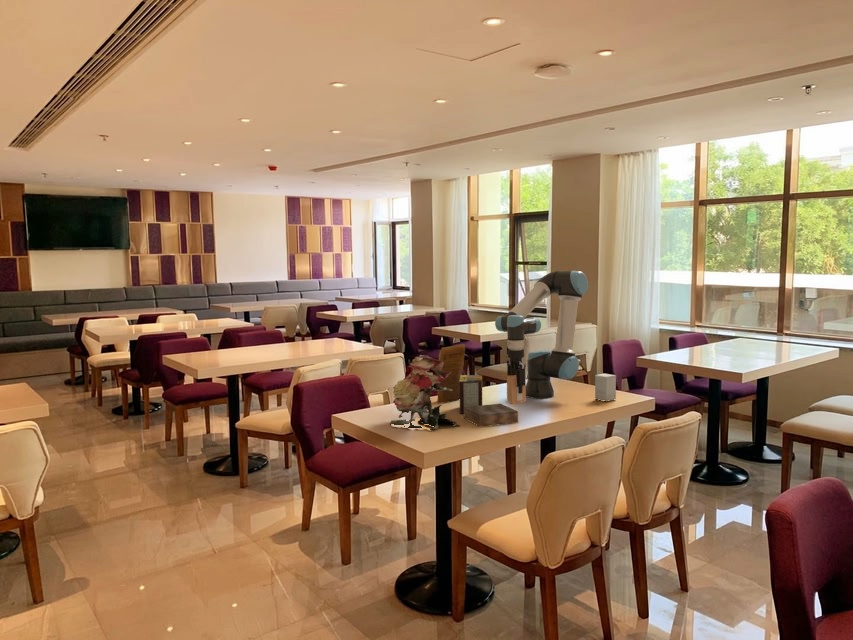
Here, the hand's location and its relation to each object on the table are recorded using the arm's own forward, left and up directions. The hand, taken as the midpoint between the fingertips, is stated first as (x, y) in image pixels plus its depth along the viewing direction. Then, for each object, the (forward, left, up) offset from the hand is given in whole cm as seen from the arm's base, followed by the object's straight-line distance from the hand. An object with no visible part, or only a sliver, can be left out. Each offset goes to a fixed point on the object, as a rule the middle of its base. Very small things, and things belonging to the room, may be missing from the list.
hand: (516, 398), depth 291 cm
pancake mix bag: (+18, -34, -6) cm, 39 cm away
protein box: (+18, -10, -6) cm, 22 cm away
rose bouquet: (+49, +4, -6) cm, 50 cm away
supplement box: (-52, -3, -6) cm, 52 cm away
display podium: (+18, +10, -6) cm, 22 cm away
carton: (0, 0, -1) cm, 1 cm away
